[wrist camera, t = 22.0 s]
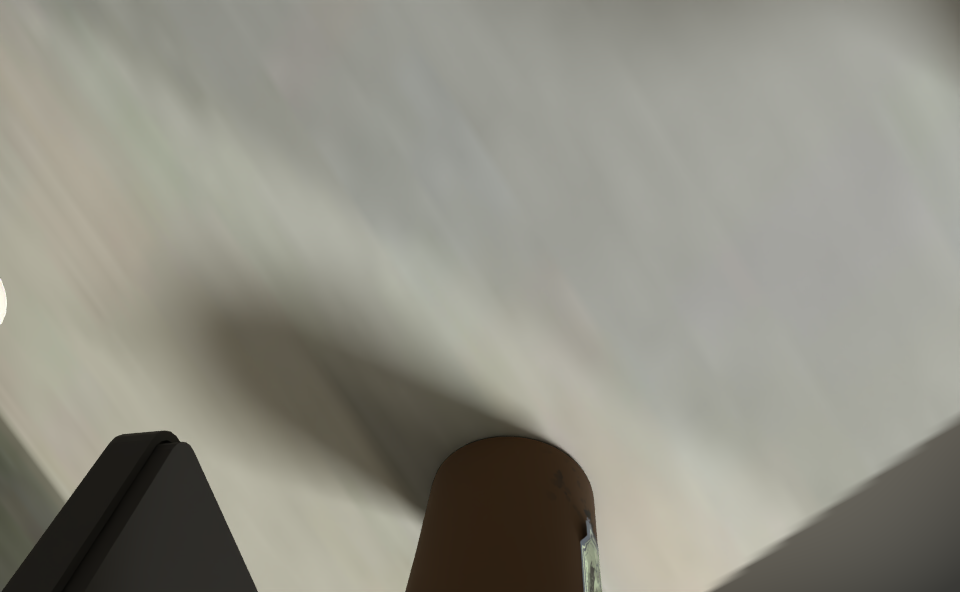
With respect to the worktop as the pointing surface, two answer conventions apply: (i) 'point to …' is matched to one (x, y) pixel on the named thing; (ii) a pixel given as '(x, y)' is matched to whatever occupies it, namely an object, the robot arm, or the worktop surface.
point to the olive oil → (508, 522)
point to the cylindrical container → (2, 301)
